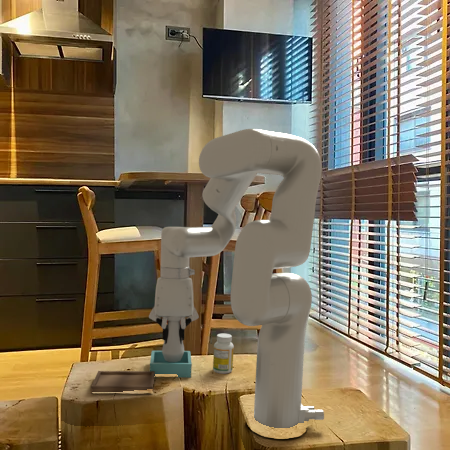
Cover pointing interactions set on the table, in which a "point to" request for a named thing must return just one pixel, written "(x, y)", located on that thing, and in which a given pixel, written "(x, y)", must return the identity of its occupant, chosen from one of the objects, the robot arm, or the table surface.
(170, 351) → the salt shaker
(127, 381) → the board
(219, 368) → the supplement bottle
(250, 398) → the table surface
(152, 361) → the collar
